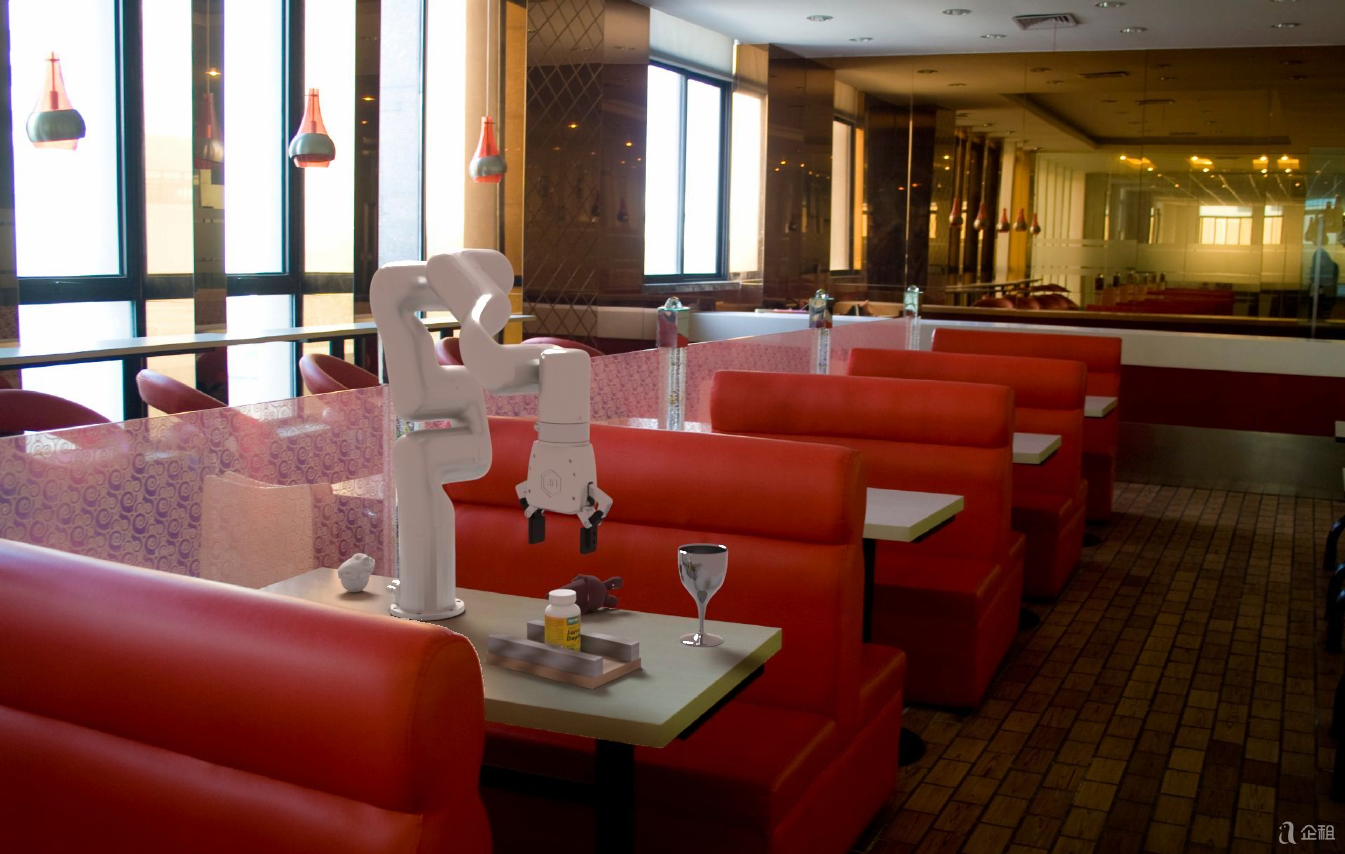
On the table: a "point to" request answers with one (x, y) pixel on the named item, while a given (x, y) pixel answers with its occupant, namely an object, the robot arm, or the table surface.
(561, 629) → the supplement bottle
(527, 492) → the robot arm
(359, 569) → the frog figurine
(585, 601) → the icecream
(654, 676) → the table surface
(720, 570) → the wine glass
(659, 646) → the table surface
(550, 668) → the sliding track
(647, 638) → the table surface
